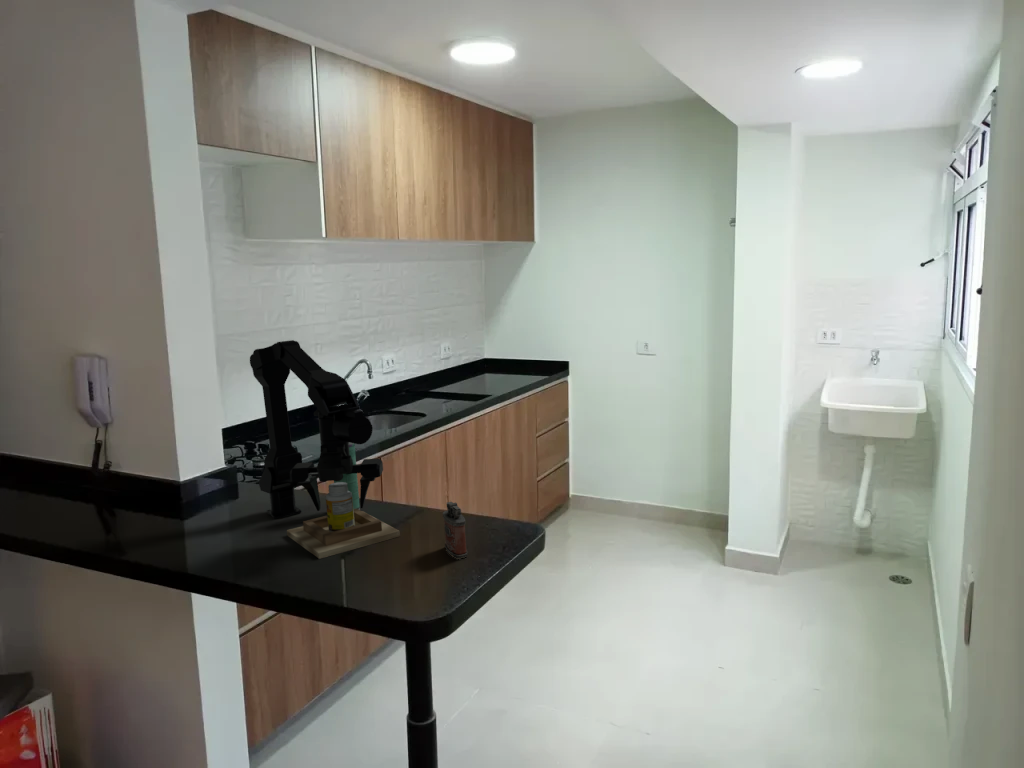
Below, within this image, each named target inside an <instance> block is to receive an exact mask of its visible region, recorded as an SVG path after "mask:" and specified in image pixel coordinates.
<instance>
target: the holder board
mask: <svg viewBox="0 0 1024 768" xmlns="http://www.w3.org/2000/svg"><path fill="white" fill-rule="evenodd" d="M353 510H354V522H355V526H354V527H350V528H346V529H342V530H338V531H334V532H330V531H329V528H328V517H327V515H324V516H323V515H322V516H320V517H316V518H315V517H314V518H311V519H308V520H303V521H302V526H298V527H294V528H290V529H287V530H286V535H287V537H289V538H290V539H292V541H294V542H296V543H297V544H298V545H300V546H301V547H302V548H304V549H305V550H306V551H308V552H309V553H311V554H312V555H313V556H315V557H316V558H318V559H319V560H320V559H324V558H327V557H330V556H331V557H332V556H334V555H338V554H342V553H346V552H349V551H353V550H356V549H359V548H363V547H366V546H371V545H374V544H378V543H380V542H384V541H387V540H392V539H395V538H399V537H401V532H400V530H399V529H397V528H395V527H393V526H391V525H390V524H387V523H385V522H384V521H382V520H380V519H379V518H376V517H374V516H373V515H370V514H369V513H367V512H365V511H362V510H361V509H360V510H358V509H353Z"/></svg>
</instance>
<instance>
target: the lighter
mask: <svg viewBox="0 0 1024 768" xmlns="http://www.w3.org/2000/svg"><path fill="white" fill-rule="evenodd" d="M446 509H447V510H445V511H443V512H442V518H443V523H444V536H445V537H444V538H445V543H444V549H445V548H446V550H447V552H448V553H450V554H451V555H453V556H454V557H456V558H461V557H465V556H467V555H468V550H467V541H466V540H467V539H466V526H465V525H466V519H465V517H464V515H463V514H462V509H461V508H460V507H459V506H458V503H457V502H452V501H448V502H446ZM446 550H445V551H446ZM447 552H446V553H447ZM448 553H447V554H448Z"/></svg>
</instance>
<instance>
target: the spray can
mask: <svg viewBox="0 0 1024 768" xmlns="http://www.w3.org/2000/svg"><path fill="white" fill-rule="evenodd" d="M355 445H356V444H354V443H350V442H349V453H350V455H351V458H352V461H353V465H354V464H357V459H356V446H355ZM337 482H345V483H347V486H348V491H350V492H351V493H352V499H353V509H358V510H360V511H361V506H360V494H359V493H360V491H359V482H358V473H353V474H343V479H342V480H340V481H333V483H337Z"/></svg>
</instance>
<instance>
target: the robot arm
mask: <svg viewBox="0 0 1024 768" xmlns="http://www.w3.org/2000/svg"><path fill="white" fill-rule="evenodd" d="M249 365H250V367H251V369H252V373H253V377H254V378H255V379H256V380H257V382H258V383H259V384H260V385H261V388H262V393H263V401H264V402H263V403H264V408H265V418H266V425H267V433H268V434H267V435H268V441H269V449H268V451H267V454H266V456H265V458H264V460H263V461H264V463H263V464H264V470H263V472H262V474H261V475H260V478H259V480H258V486H259V489H260V491H261V492H265V493H267V494H269V501H270V502H269V503H270V508H269V509H266V514H268V515H269V516H271V517H272V518H273V519H280V518H285V517H287V516H292V515H296V514H301V513H302V509H300V508H299V507H297V505H296V503H297V502H296V494H295V488H296V487H299V486H301V487H303V488H304V489H305V490H306V492H307V493H308V495H309V497H310V498H311V500H312V502H313V505H314V506H315V509H316V511H318V512H319V511H321V499H320V492H319V485H318V481H319V482H322V483H326V482H330V481H331V482H334V481H340V480H342V479H343V474H353V473H357V474H360V475H361V477H360V480H359V483H360V489H359V493H360V494H359V504H360V509H364V505H365V501H366V499H367V493H368V491H369V487H370V483H371V482H374V481H375V480H376V478H380V477H381V476H382V473H383V472H384V463H383V461H382V460H381V458H367V459H366V458H363V460H362V462H361V463H360V464H359V463H358V464H357V463H356V464H354V465H353V461H352V458H351V455H350V453H349V442H350V443H354V444H355V445H363V444H366V443H367V442H368V441H369V440H370V438H371V437H372V434H373V428H374V427H373V425H372V423H371V420H370V419H369V418H368V417H367V416H364V414H363V410H362V409H360V405H359V404H358V402H359V400H358V399H357V398H356V397H355V395H354V393H353V391H352V388H351V387H350V385H349V383H348V381H347V380H346V379H345V378H344V377H342V376H340V375H339V374H337V373H334V372H331V371H327V370H325V368H322V366H320V365H319V363H317V362H316V361H315V360H314V359H313V358H312V357H311V356H310V355H309V354H308V353H307V352H306V351H305V350H303V348H301V345H300V342H299V341H297V340H294V339H293V340H290V339H289V340H285V341H284V340H283V341H282V340H281V341H277V342H275V343H273V344H272V345H269V346H267V347H263V348H256V349H254V350H253V352H252V353H251V355H250V356H249ZM291 372H292V373H293V374H294V375H295V376H296V377H297V378H298V379H299V380H300V381H301V382H302V383H303V384H304V385H305V387H306V388H307V397H308V398H309V399H310V401H311V402H312V404H313V405H314V406H315V407H316V408H317V409H316V410H314V412H313V416H314V417H318V428H319V437H320V447H319V448H320V449H319V450H320V454H319V458H318V462H317V464H316V465H317V466H315V464H314V462H311V461H310V462H303V456H302V454H301V452H298V451H297V450H296V449H295V448H294V447H293V446H294V445H293V444H292V437H291V429H290V420H289V411H288V403H287V396H286V395H287V394H286V386H285V384H286V382H287V379H288V377H289V375H290V373H291ZM317 476H318V479H317Z"/></svg>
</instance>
